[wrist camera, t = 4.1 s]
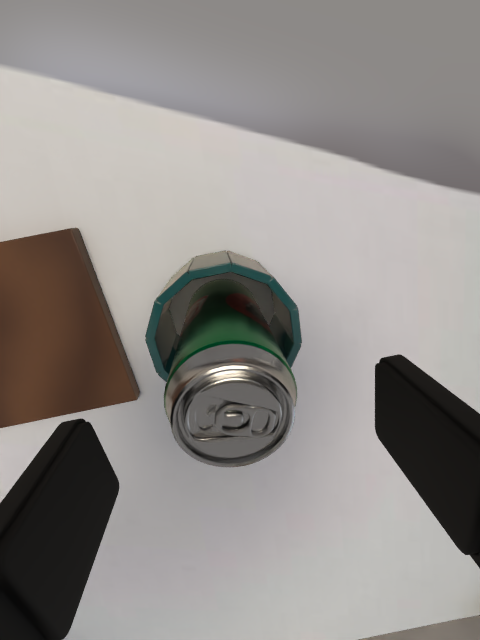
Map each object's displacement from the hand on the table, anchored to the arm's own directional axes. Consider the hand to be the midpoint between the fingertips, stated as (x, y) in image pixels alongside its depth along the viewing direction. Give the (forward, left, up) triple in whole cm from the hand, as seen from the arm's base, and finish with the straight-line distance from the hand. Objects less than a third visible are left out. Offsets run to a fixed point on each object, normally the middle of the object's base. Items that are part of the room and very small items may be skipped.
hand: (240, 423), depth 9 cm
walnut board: (-18, +1, -12) cm, 22 cm away
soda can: (0, 0, -13) cm, 13 cm away
